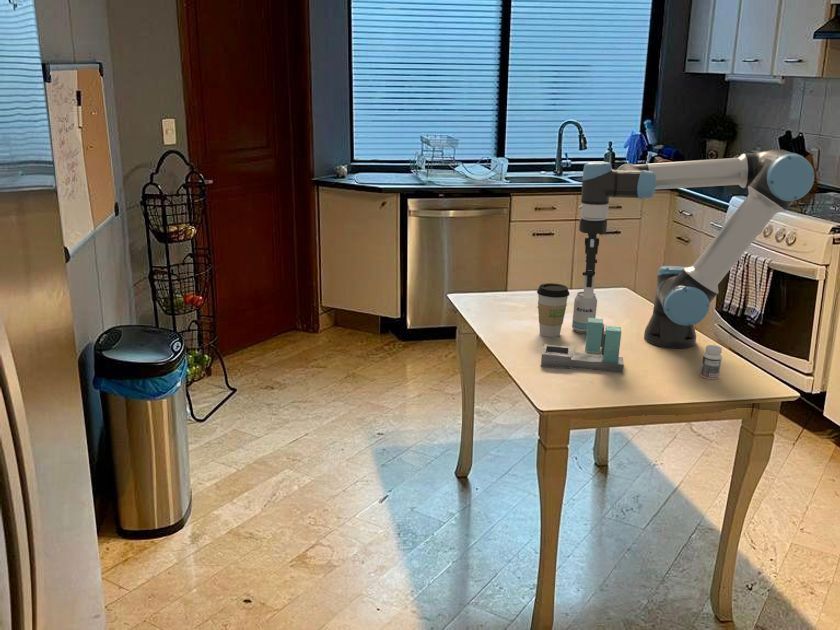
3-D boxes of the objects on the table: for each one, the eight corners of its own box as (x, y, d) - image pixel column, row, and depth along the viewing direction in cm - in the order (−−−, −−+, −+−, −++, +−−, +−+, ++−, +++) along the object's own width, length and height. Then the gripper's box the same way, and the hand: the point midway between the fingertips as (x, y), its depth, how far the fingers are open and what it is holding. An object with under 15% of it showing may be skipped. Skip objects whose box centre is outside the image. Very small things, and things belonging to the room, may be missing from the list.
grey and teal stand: (621, 364, 222) (626, 325, 219) (622, 374, 215) (627, 334, 211) (542, 356, 226) (545, 318, 223) (540, 366, 219) (544, 326, 215)
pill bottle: (704, 371, 218) (708, 343, 216) (721, 376, 215) (725, 347, 213) (697, 376, 215) (701, 347, 212) (715, 381, 212) (719, 351, 209)
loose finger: (601, 348, 234) (604, 319, 232) (601, 352, 230) (604, 323, 228) (585, 346, 235) (588, 317, 233) (585, 351, 231) (588, 321, 229)
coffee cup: (565, 340, 240) (569, 292, 236) (532, 337, 242) (536, 289, 237) (566, 330, 249) (570, 284, 245) (534, 327, 251) (538, 281, 247)
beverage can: (571, 333, 247) (574, 295, 243) (572, 326, 253) (575, 290, 250) (593, 335, 245) (597, 298, 242) (594, 328, 252) (598, 292, 248)
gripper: (580, 210, 235) (576, 279, 241) (579, 225, 211) (573, 302, 218) (606, 211, 233) (601, 281, 239) (607, 227, 210) (601, 304, 216)
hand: (588, 291), depth 228 cm, fingers open, 13 cm apart
